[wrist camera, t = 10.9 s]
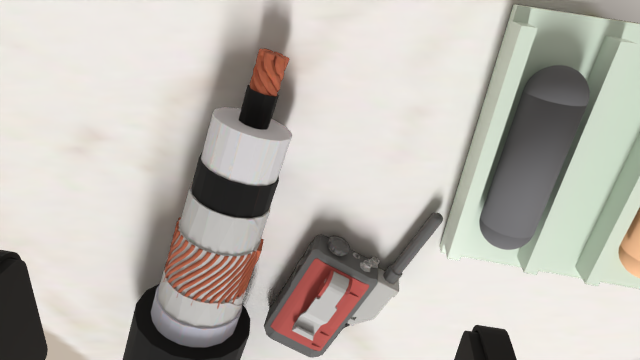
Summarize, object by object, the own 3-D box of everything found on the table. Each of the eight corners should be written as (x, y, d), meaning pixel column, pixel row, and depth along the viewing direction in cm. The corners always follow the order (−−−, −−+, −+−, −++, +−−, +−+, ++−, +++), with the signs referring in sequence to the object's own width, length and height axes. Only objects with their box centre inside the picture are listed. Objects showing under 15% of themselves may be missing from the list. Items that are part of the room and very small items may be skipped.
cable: (313, 55, 39) (365, 92, 30) (213, 354, 51) (231, 438, 42) (193, 18, 34) (215, 50, 26) (114, 357, 46) (112, 452, 38)
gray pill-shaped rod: (526, 55, 31) (544, 68, 28) (585, 64, 31) (611, 78, 28) (469, 226, 38) (477, 255, 34) (518, 235, 37) (532, 264, 34)
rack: (513, 3, 31) (526, 8, 28) (790, 46, 30) (832, 55, 27) (439, 246, 40) (444, 268, 37) (650, 284, 39) (671, 310, 36)
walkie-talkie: (336, 354, 48) (449, 212, 39) (331, 390, 44) (456, 241, 35) (261, 317, 47) (359, 163, 38) (249, 350, 43) (355, 187, 34)
